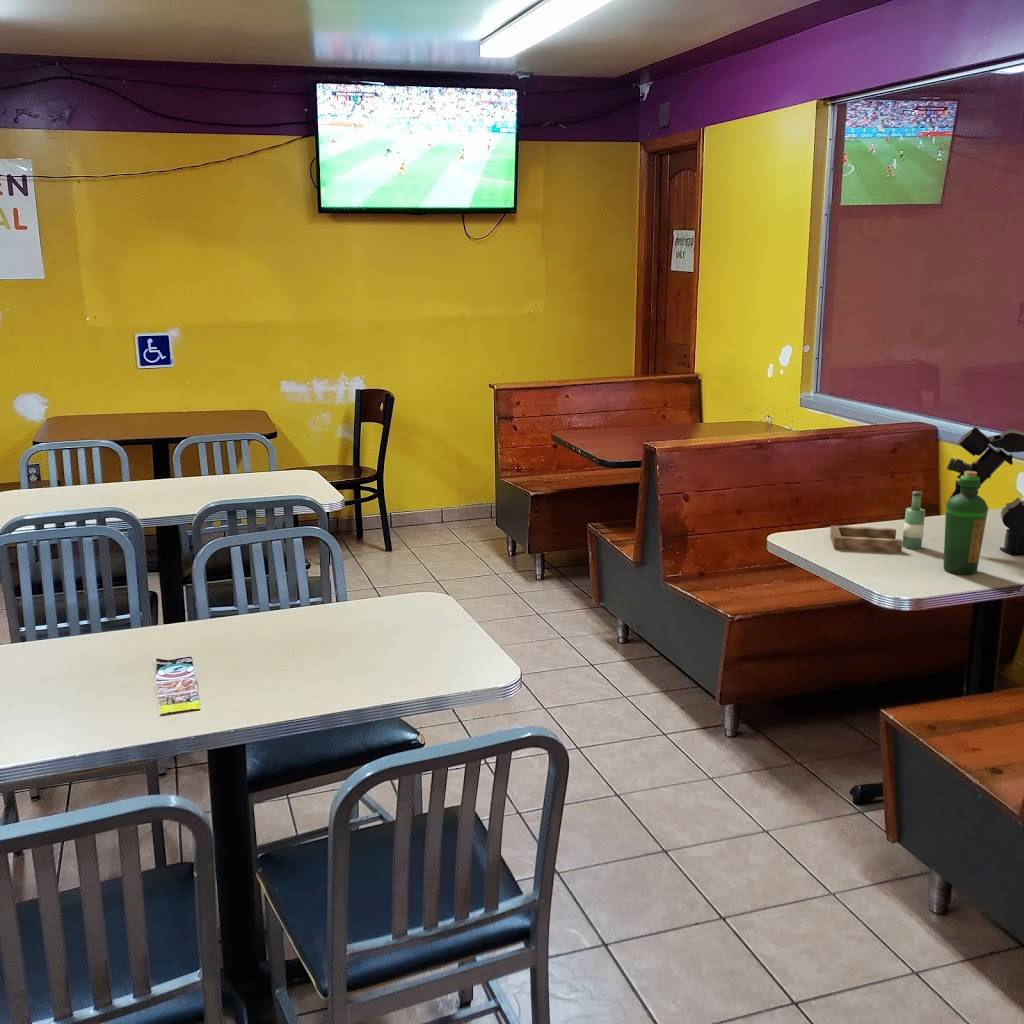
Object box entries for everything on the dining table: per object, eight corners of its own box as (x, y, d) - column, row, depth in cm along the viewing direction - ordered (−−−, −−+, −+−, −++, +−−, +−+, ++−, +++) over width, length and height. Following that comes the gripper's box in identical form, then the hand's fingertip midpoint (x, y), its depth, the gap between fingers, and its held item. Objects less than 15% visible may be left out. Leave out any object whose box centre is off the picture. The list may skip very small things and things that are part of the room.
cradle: (894, 539, 314) (895, 528, 313) (901, 552, 301) (902, 541, 300) (829, 536, 318) (830, 525, 317) (834, 549, 305) (834, 537, 304)
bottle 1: (925, 548, 304) (930, 494, 300) (907, 549, 304) (913, 494, 299) (915, 543, 310) (921, 489, 305) (898, 544, 309) (903, 490, 305)
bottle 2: (987, 576, 278) (999, 476, 271) (947, 576, 279) (958, 476, 272) (971, 565, 289) (982, 468, 282) (933, 565, 289) (943, 468, 282)
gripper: (963, 444, 308) (926, 483, 314) (962, 451, 291) (923, 492, 297) (994, 469, 306) (955, 507, 312) (994, 477, 289) (954, 517, 295)
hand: (946, 505), depth 304 cm, fingers closed
